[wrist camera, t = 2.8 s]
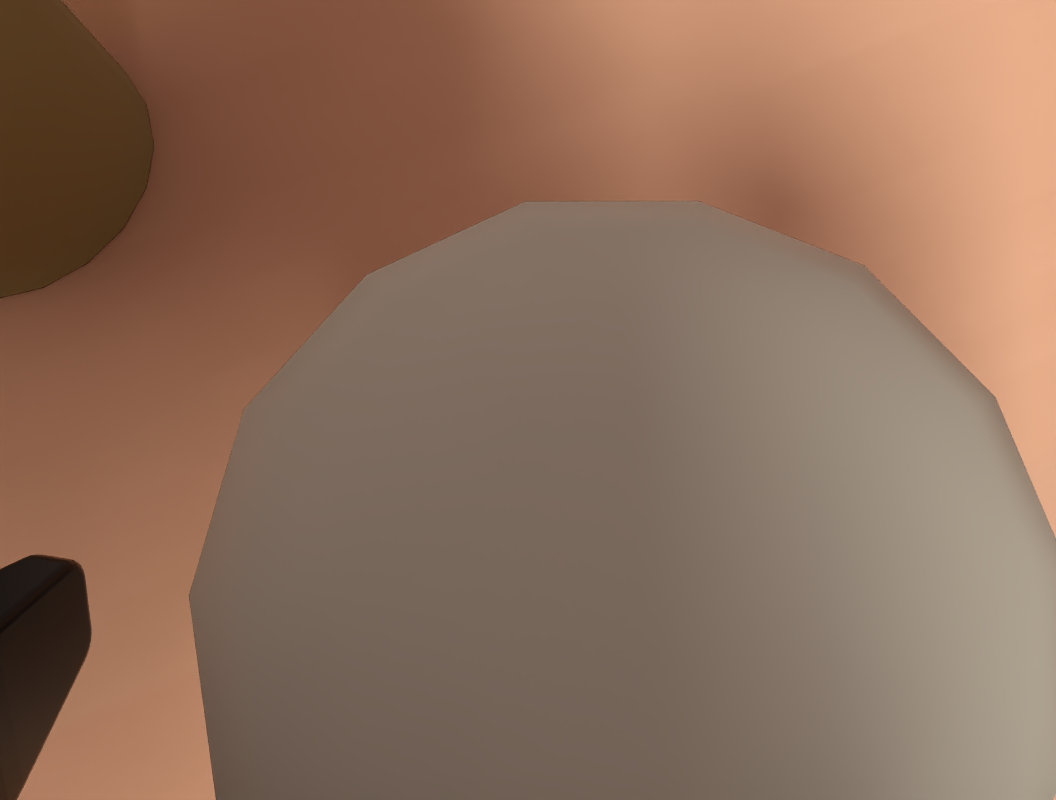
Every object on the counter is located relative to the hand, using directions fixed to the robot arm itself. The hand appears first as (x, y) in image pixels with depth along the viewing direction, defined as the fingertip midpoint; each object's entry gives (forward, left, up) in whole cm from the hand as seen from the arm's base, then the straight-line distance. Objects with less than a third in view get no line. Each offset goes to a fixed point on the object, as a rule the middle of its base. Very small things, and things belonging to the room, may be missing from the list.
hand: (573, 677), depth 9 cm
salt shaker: (0, 0, -8) cm, 8 cm away
